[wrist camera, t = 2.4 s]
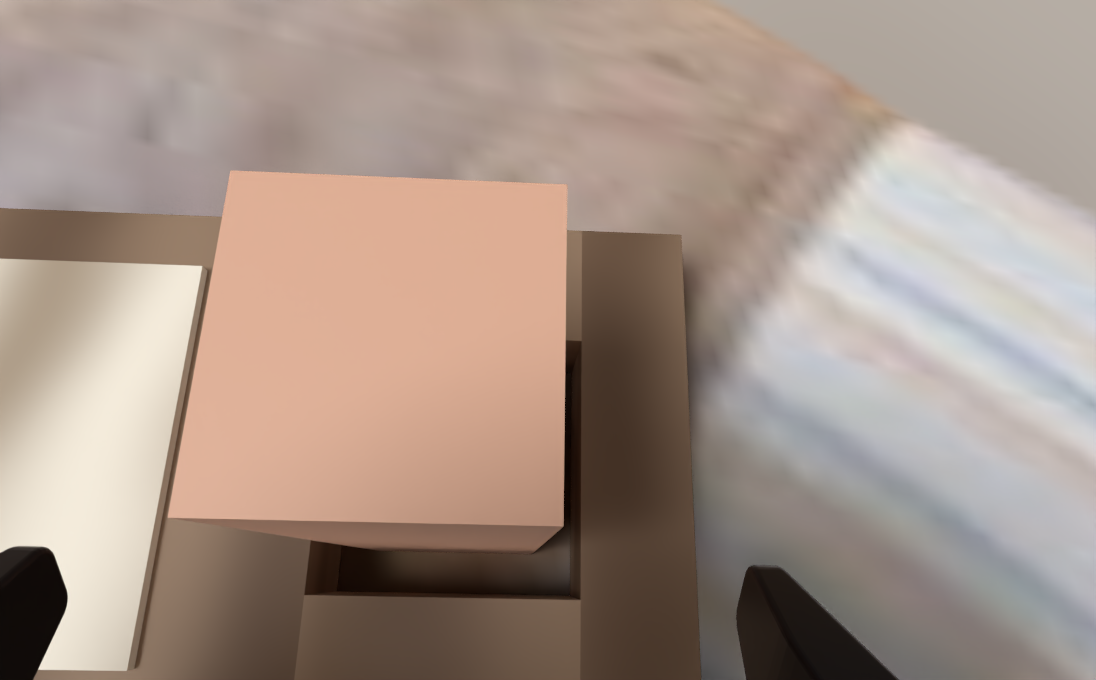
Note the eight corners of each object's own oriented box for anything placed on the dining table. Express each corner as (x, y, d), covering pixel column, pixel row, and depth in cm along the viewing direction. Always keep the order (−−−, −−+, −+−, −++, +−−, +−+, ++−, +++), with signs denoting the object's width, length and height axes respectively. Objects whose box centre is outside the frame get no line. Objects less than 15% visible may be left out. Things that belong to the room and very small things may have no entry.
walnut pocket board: (658, 279, 21) (683, 229, 18) (673, 726, 18) (708, 759, 14) (-98, 252, 20) (-208, 194, 17) (-253, 715, 17) (-430, 749, 14)
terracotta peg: (531, 554, 19) (563, 526, 7) (379, 550, 18) (166, 517, 7) (535, 405, 20) (567, 184, 9) (392, 401, 20) (230, 171, 8)
